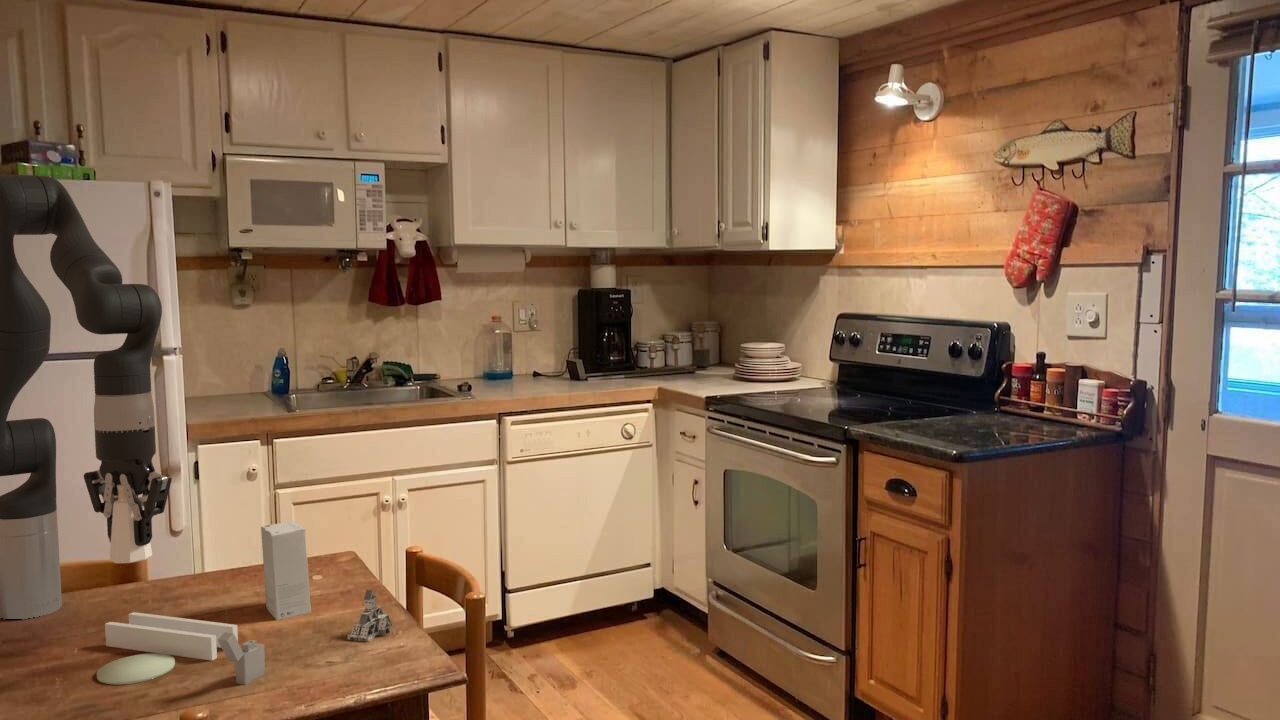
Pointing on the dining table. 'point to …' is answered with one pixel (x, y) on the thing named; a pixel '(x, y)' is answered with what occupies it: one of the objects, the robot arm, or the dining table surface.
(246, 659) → the lighter
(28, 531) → the robot arm
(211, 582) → the dining table surface
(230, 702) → the dining table surface
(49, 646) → the dining table surface
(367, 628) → the house of cards
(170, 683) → the dining table surface
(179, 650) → the low walls
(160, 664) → the pad
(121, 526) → the pepper shaker
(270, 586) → the skincare box
